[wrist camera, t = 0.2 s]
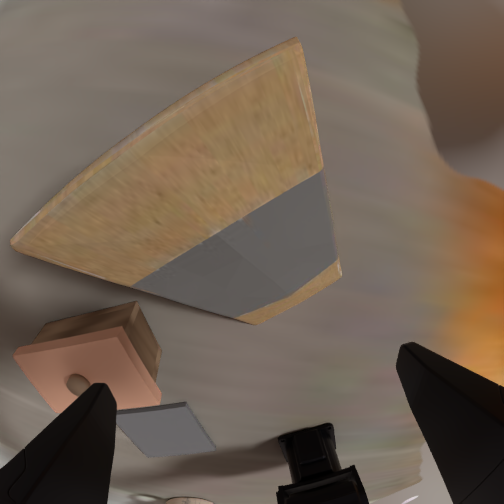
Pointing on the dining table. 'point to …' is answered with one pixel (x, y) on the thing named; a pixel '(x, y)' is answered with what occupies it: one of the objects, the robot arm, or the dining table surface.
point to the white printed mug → (188, 501)
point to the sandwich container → (207, 199)
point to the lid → (88, 369)
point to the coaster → (165, 430)
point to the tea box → (106, 319)
